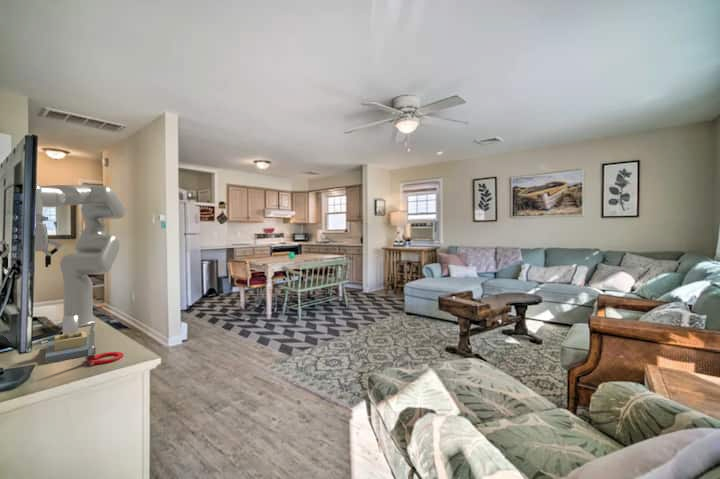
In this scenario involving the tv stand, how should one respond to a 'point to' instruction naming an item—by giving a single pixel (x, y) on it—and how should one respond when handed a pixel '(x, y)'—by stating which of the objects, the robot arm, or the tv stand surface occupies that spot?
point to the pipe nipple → (70, 326)
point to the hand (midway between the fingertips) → (27, 267)
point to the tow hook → (92, 358)
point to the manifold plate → (67, 347)
